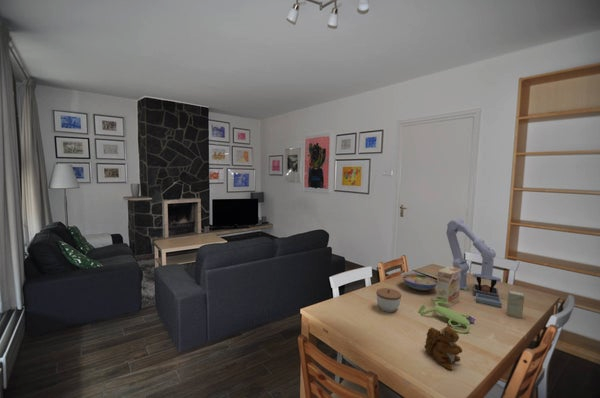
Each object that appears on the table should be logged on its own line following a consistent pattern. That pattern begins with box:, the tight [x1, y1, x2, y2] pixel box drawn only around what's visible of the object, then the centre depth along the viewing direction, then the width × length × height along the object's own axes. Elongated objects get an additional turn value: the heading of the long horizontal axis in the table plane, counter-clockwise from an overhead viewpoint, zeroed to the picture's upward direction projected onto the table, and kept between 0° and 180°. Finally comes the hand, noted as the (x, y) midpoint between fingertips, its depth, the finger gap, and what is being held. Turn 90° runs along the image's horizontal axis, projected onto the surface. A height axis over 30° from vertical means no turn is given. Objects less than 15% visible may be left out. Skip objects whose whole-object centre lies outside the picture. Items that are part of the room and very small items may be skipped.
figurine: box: [417, 298, 476, 335], centre depth 144 cm, size 18×27×6 cm
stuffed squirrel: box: [424, 324, 463, 371], centre depth 112 cm, size 10×14×13 cm
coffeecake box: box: [435, 265, 461, 309], centre depth 161 cm, size 15×7×20 cm, turn 129°
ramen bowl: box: [400, 269, 438, 292], centre depth 182 cm, size 25×23×8 cm
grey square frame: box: [472, 283, 500, 298], centre depth 175 cm, size 13×13×4 cm
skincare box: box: [505, 290, 525, 319], centre depth 148 cm, size 6×4×12 cm
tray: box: [475, 293, 503, 309], centre depth 164 cm, size 12×9×2 cm
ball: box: [481, 284, 491, 293], centre depth 175 cm, size 5×5×5 cm
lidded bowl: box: [376, 287, 402, 313], centre depth 153 cm, size 13×13×11 cm
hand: (485, 290), depth 175 cm, fingers closed on ball, 5 cm apart
